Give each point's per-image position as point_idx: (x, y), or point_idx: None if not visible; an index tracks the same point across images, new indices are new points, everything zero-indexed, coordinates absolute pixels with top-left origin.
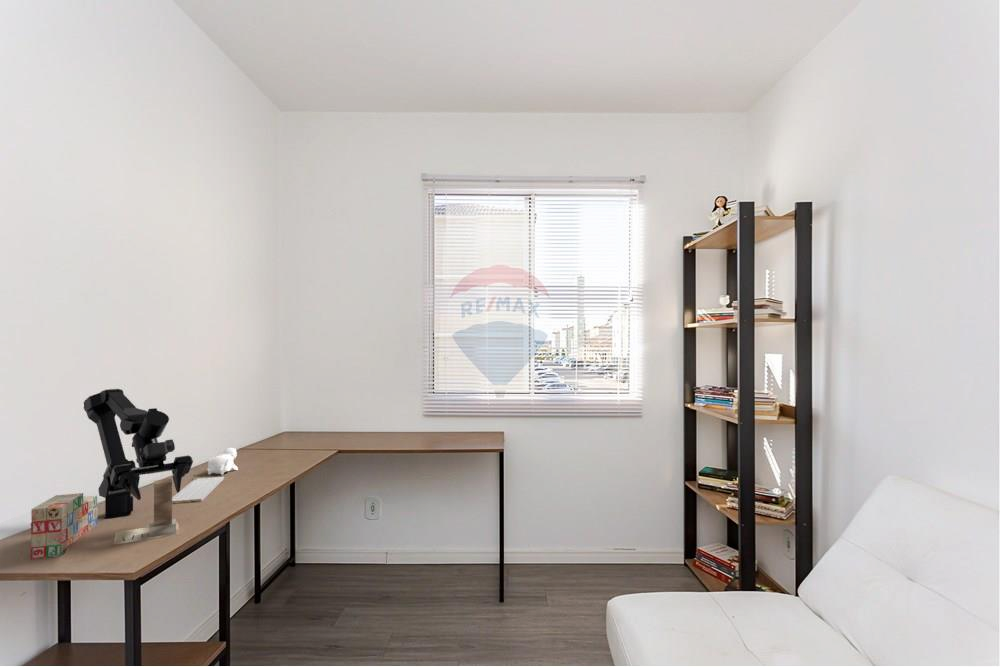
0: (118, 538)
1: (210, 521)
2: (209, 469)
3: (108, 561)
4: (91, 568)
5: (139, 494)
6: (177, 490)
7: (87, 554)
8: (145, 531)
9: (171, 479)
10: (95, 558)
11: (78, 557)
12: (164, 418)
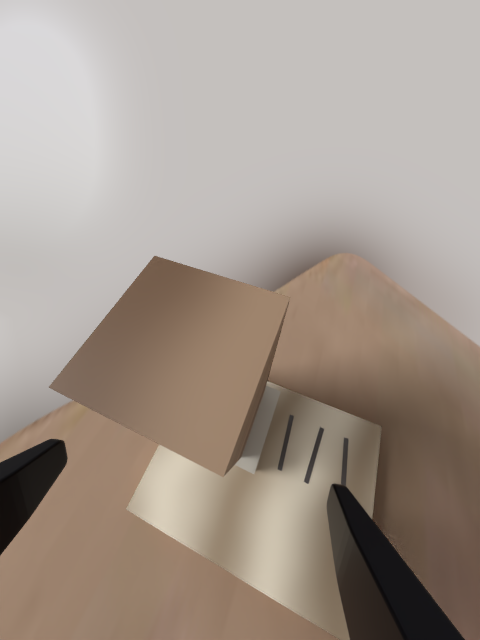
0: (359, 497)
1: None
2: None
3: (389, 337)
4: (426, 322)
5: (350, 512)
6: (54, 461)
7: (448, 456)
8: (259, 497)
9: (79, 351)
10: (421, 389)
11: (473, 449)
12: None
